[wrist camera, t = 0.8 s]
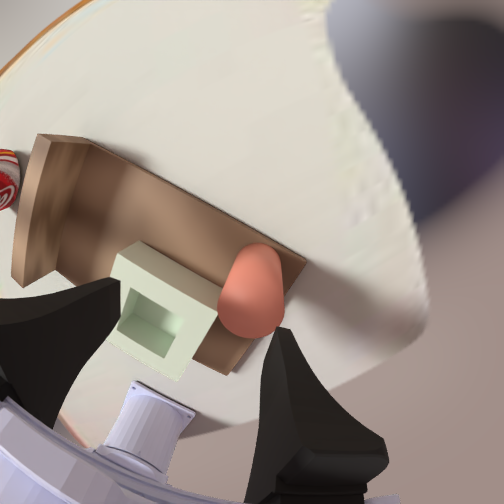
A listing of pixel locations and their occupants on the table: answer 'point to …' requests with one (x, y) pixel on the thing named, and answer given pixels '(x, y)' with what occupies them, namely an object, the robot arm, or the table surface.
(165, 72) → the table surface
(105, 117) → the table surface
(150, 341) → the block
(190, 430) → the table surface
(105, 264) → the board
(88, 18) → the table surface
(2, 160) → the soda can
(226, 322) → the dowel
